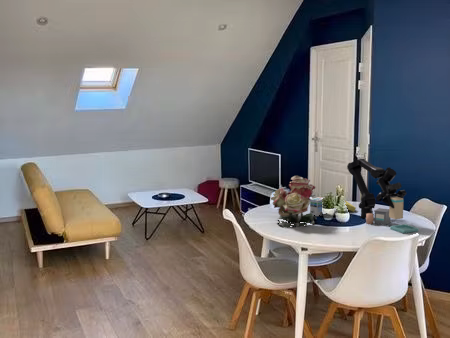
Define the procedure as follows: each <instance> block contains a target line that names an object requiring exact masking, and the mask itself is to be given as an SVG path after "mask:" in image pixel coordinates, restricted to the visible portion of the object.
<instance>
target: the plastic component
mask: <svg viewBox="0 0 450 338" xmlns="http://www.w3.org/2000/svg"><path fill="white" fill-rule="evenodd" d="M345 202H346V204H345V205H346V206H347V208H348V209H347V210H348V211H350V212H353V213H354V212H355V211H356V209H357V207H355V205H353V204H351V203H350V202H348V201H347V200H345Z"/></svg>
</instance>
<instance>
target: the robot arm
mask: <svg viewBox="0 0 450 338" xmlns="http://www.w3.org/2000/svg"><path fill="white" fill-rule="evenodd" d="M362 168H363V169H364V170H366V171H367V172H368V173H369V174H370V176H371V177H372V178H373V179H377V180H376V183H375V184H376V185H379V186H380V188H381V189H380V192H378V194H377V196H376V197H375V194H374V193H371V192H370V191H369V189H368V187H367V184H366V182H365V179H364V177H363V175H362ZM346 169H347V170H348V173H349V174H351V176H353V178H354V180H355V183H356V185H357V187H358V190H359V192H360V194H361V197H360V203H359V204H358V208H359V209H360V216H359V218H360V219H366V214H367V213H372V214H374V210H373V209H375V207H376V203H377V202H382V203H384V204H385V205H387V206H390V207H392V208H394V205H393V203H392V201H391V199H390V198H391V197H400V198H403V199H404V197H405V196H406V195H407V191H406V190H405V189H402V190H400V189H401V188H403V187H402V184H401V182H395V183H390V182H392V181H393V179H394V178H395V177H396V176H397V171H396V170H395V169H393V168H391V167H386V169H385V168H383V167H379V166H376V165H373V164H372V163H371V162H369V161H367V160H366V158H357V159H355V160H353V161H350V162H349V163H348V164H347V166H346Z"/></svg>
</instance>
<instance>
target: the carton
mask: <svg viewBox="0 0 450 338" xmlns="http://www.w3.org/2000/svg"><path fill="white" fill-rule="evenodd" d="M390 199H391V201H392V203H393V205H394V208H392V207H390V206H389V205H388V206H389V207H388V209H389V217H390V219H393V220H400V219H401V220H402V219H403V218H404V202H405V201H404V197H403V198H400V197H390Z"/></svg>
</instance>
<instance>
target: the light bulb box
mask: <svg viewBox="0 0 450 338" xmlns="http://www.w3.org/2000/svg"><path fill="white" fill-rule="evenodd" d="M323 198H324V197H322V196H319V197H318V196H317V197H315V198H314V197H312V198H310V199H311V201H310V204H309V213H311V212H312V213H311V214H313V215H315V217H320V216H323V215H322V199H323ZM319 215H320V216H319Z"/></svg>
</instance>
